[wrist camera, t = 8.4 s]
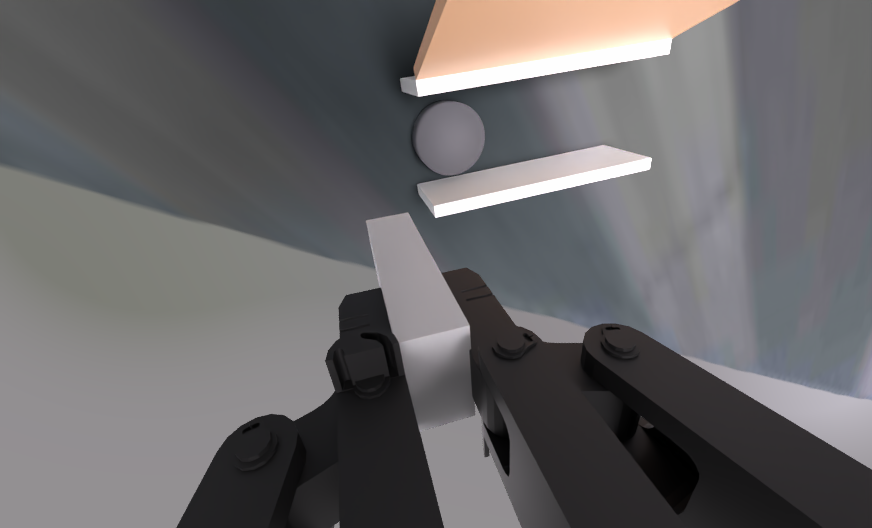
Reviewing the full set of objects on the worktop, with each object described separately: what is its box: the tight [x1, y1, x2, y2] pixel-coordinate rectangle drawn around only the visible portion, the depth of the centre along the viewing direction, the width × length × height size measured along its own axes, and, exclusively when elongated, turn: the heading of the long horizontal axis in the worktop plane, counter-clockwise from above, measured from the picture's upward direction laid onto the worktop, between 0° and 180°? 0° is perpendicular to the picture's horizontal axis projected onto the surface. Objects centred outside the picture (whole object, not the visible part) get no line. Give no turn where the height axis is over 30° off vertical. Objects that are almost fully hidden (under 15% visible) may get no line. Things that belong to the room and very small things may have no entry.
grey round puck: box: [412, 100, 485, 175], centre depth 32 cm, size 6×6×2 cm
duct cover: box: [413, 0, 739, 80], centre depth 21 cm, size 10×20×1 cm
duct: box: [400, 39, 672, 218], centre depth 31 cm, size 10×20×6 cm, turn 98°
